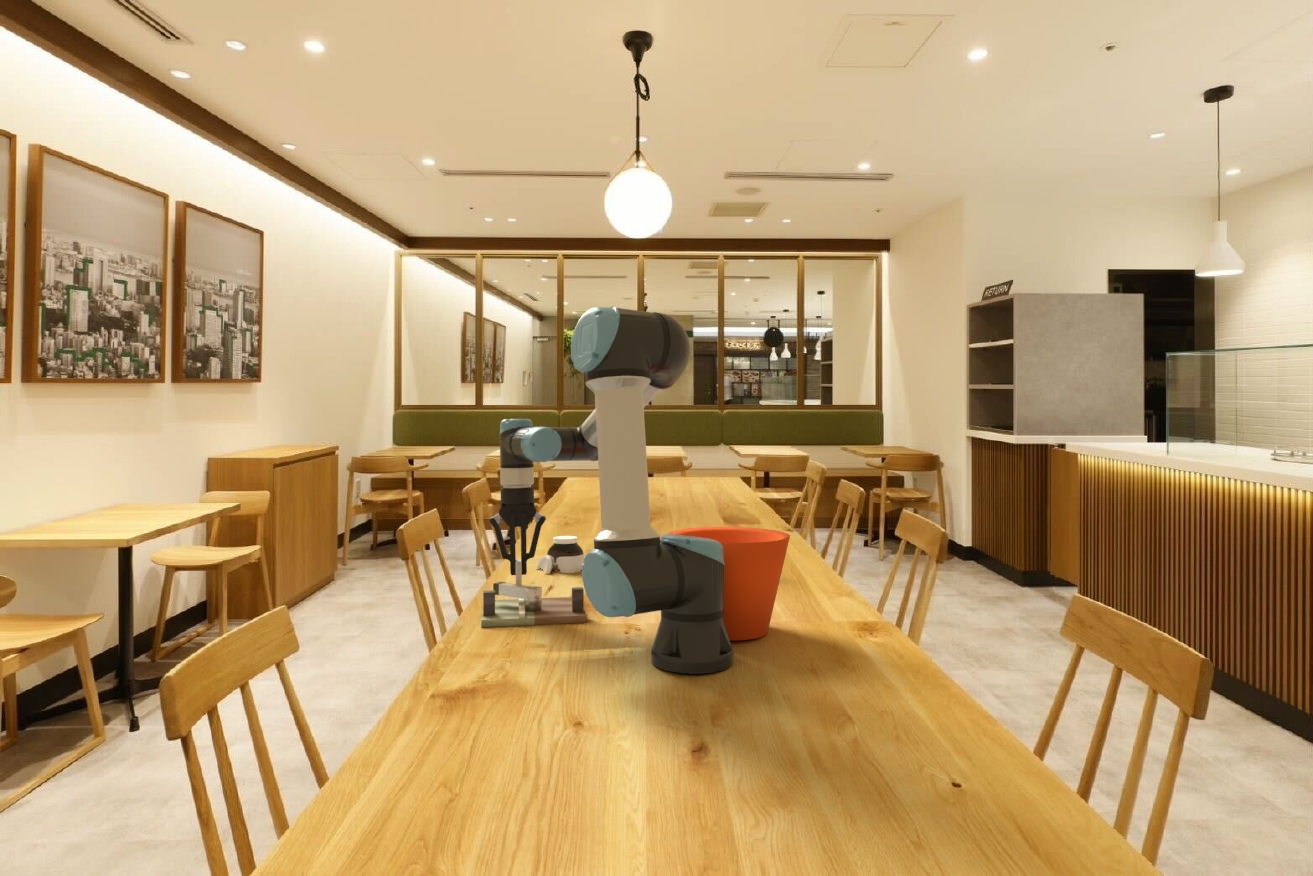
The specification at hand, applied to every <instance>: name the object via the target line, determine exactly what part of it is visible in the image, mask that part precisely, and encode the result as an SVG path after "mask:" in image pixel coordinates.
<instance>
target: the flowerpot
mask: <svg viewBox="0 0 1313 876" xmlns="http://www.w3.org/2000/svg"><path fill="white" fill-rule="evenodd" d="M668 534H671V535H684V536H693V537H701V538H707V539H713V540H716V541H718V542H720V543H721V545H722V546H723V555H724V562H725V566H724V623H725V626H726V629H727V632H728V636H729V639H730V641H747V640H754V639H758V638H762V637H764V636H766V635H767V634H768V632H769V628H770V624H771V619H772V616H773V612H774V611H773V610H774V608H775V607H774V605H775V602H776V598H777V594H778V590H779V585H780V581H781V575H782V573H783V567H784V563H785V559H786V555H787V550H788V546H789V542H790V538H791V535H790V534H789V533H787V532H784V531H780V530H775V529H768V528H767V529H766V528H757V527H741V526H737V527H736V526H709V527H708V526H707V527H705V526H704V527H690V528H682V529H675V530H672V531H670V532H669V533H668Z"/></svg>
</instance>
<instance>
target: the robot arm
mask: <svg viewBox="0 0 1313 876" xmlns="http://www.w3.org/2000/svg"><path fill="white" fill-rule="evenodd" d="M570 346H571V347H570V358H571V361H572V362H571V363H573V367H574V368H575V370H577V371H578V372H580V373H583V374H584V376H585V379H584V380H585V386H586V387H587V388H588V389H589V390H590V391H592V393H593V394H594V406H595V408H594V410H593V411H592V412H591V413H590V414H589V416H588V417H587V418H586V419H585V420H584V421H583V422H582V424H581V425H580V426H578V427H576V426H573V427H571V426H570V427H569V426H564V427H563V426H562V427H561V426H560V427H559V426H557V427H556V426H551V427H550V426H549V427H548V426H539V425H538V426H534V423H533V421H532V420H531V419H530V418H510V419H508V418H505V419H502V420H501V421H500V424H499V434H498V438H499V456H500V457H499V460H500V461H499V462H500V468H499V469H500V470H499V472H500V475H499V476H500V480H499V481H500V485H501V486H502V487H501V488H500V507H499V509H498V513H496V514H495V515H494V516H491V517H490V518H489V523H490V524H491V526H492V527H493V529H494V532H495V536H496V539H497V543H498V546H499V550H500V554H501V558H502V559H504V560H507V561H509V564H510V569H509V570H510V575H511V576H515V584H519V585H523V580H522V578H523V575H524V576H525V575H527V572H528V571H527V569H528V564H527V562H528V560H529V559H533V558H535V555H536V551H537V547H538V542H539V539H540V538H539V537H540V534H541V530H542V526H543V525H544V523H545V521H546V519H547V518H546V516H545V515H544V514H543V515H542V514H540V513H539V512H537V507H536V506H535V488H534V487H533V486H532V485H534V484H535V480H534V479H535V476H534V473H535V472H534V471H535V469H534V468H535V467H534V463H539V464H540V463H547V462H565V461H566V462H567V461H568V462H569V461H570V462H577V461H583V462H584V461H591V462H598V480H599V481H598V482H599V499H600V500H599V501H600V518H601V522H600V523H601V529H600V531H599V532H598V533H597V535H596V536H595V537H593V547H594V548H593V549H592V550H590V551H589V552H587V553H586V554H585V555H584V563H583V564H582V571H581V579H582V585H583V589H584V591H585V594H586V597H587V598H588V601H589V602H590V604H591V605H592V607H593V608H594V609H595V611H596V612H597V613H598V614H601V616H604V617H607V618H620V617H625V618H629V617H631V616H635V615H639V614H640V615H641V614H645V613H646V614H647V613H652V612H653V613H654V612H659V611H660V622H659V624H658V628H657V631H656V633H655V636H654V640H653V643H652V646H651V651H650V653H651V656H650V659H651V660H650V661H651V663H652V665H654V666H655V667H657V668H658V669H661V670H664V671H668V672H672V673H680V674H709V673H716V672H719V671H720V672H721V671H724V670H726V669H729V668H730V667H731V666H732V665H733V664H734V648H733V645H732V642H731V640H730V639H729V636H728V632H727V629H726V626H725V623H724V566H725V562H724V555H723V546H722V545H721V543H720V542H718V541H716V540H713V539H707V538H701V537H693V536H684V535H671V534H669V533H668V534H662V536H661V535H660V534H659V532H657V531H656V529H654V528H653V527H652V525H651V509H650V507H651V506H650V493H649V474H648V459H647V443H646V442H647V441H646V439H647V438H646V427H645V426H646V424H645V421H646V420H645V409H644V408H645V407H646V406H647V405H648V404H650V402H651V400H653V399H654V398H655V396H657V395H658V394H659V392H660V391H663V390H668V389H670V388H672V386H674V384H675V383H676V382H677V381H678V380H679V379H680V378H681V376H683V374H684V372H685V371H686V369H687V368H688V364H689V362H690V357H691V344H690V339H689V336H688V334H687V331H686V330H685V328H684V327H683V325H681V323H680V322H679V321H678V320H676V319H675V318H674V317H672V316H671V315H668V314H665V313H662V312H656V311H655V312H650V311H644V310H643V311H642V310H636V309H628V308H621V307H616V306H610V307H609V306H608V307H605V306H596V307H591V308H589V309H588V310H586V311H585V312H584V313H583V314H582V315H581V316H580V318H579V320H578V321H577V323H576V326H575V328H574V331H573V334H572V338H571V344H570ZM533 518H534V522H535V526H534V530H533V534H532V538H531V542H530V543H531V544H530V547H529V551H528V552H527V526H528V525H529V524H530V523H531V521H532V520H533ZM501 519H502V520H503V521H504V523H505V524H506V525H507V526H508V528H509V553H508V551H507V547H506V544H505V539H504V535H503V532H502V529H501V525H500V524H501V522H502V521H501ZM517 527H519V528H520V559H516V558H517V557H516V528H517Z"/></svg>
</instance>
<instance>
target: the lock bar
mask: <svg viewBox="0 0 1313 876" xmlns="http://www.w3.org/2000/svg"><path fill="white" fill-rule="evenodd" d="M492 584H493V585H492V587H493V589H492V591H493V590H495V596H503V597H509V598H514V599H515V598H516V599H518V598H521V599H525V609H526V610H529V611H536V610H541V609H542V598H543V592H542V591H543V587H542V586H535V585H534V586H533V585H526V584H522V585H519V584H516V583H511V582H506V581H497V582H495V583H492Z"/></svg>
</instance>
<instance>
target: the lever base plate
mask: <svg viewBox="0 0 1313 876" xmlns="http://www.w3.org/2000/svg"><path fill="white" fill-rule="evenodd" d="M584 591H585V589H584V586H581V587H579V586H577V587H575V586H574V587H571V596H565V597H542V609H541V610H536V611H529V610H526V609H525V599H521V598H516V599H515V598H514V599H513V598H512V599H509V598H508V599H496V595H495V590H493V589H492V590H483V593H482V594H483V599H482V600H483V601H482V603H483V606H482V607H483V608H482V614H481V619H480V623H481V624H480V626H481V628H491V627H492V628H493V627H494V628H496V627H511V626H512V627H516V626H537V625H538V626H539V625H540V626H541V625H556V624H557V625H558V624H559V625H560V624H580V623H581V624H582V623H587V613H586V611H585V608H584Z"/></svg>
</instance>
